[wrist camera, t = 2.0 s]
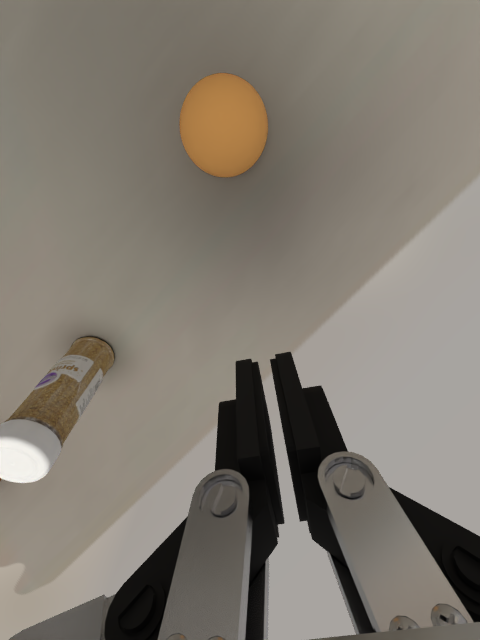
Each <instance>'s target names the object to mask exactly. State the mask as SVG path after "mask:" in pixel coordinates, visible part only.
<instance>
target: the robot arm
mask: <svg viewBox="0 0 480 640" xmlns="http://www.w3.org/2000/svg"><path fill="white" fill-rule="evenodd" d="M275 356H276V359H270V362H271V368H272V373H273V379H274V384H275V390H276V395H277V401H278V406H279V411H280V418H281V423H282V428H283V433H284V439H285V444H286V450H287V455H288V460H289V465H290V470H291V476H292V482H293V487H294V492H295V497H296V503H297V508H298V514H299V519H300V521H307V522H308V526H309V531H310V533H311V536H312V539H313V540H314V541H315V542H316V543H318V544H319V545H320V546H321V547H323V548H324V549H325V550H326V551H327V553H328V557H329V560H330V563H331V566H332V568H333V571H334V574H335V576H336V579H337V582H338V585H339V588H340V591H341V593H342V596H343V599H344V602H345V605H346V607H347V610H348V613H349V616H350V618H351V621H352V624H353V627H354V630H355V632H356V635H348V636H339V637H330V638H321V639H311V640H480V536H478V535H476V534H474V533H472V532H471V531H469V530H467V529H465V528H463V527H461V526H460V525H458V524H456V523H454V522H452V521H450V520H449V519H447V518H445V517H443V516H441V515H439V514H438V513H436V512H434V511H432V510H430V509H428V508H427V507H425V506H423V505H421V504H419V503H417V502H415V501H413V500H412V499H410V498H408V497H406V496H404V495H403V494H401V493H399V492H397V491H395V490H393V489H392V488H390V487H388V485H387V484H386V482H385V481H384V479H383V477H382V476H381V474H380V473H379V471H378V470H377V468H376V467H375V466H374V465H373V464H372V463H371V461H369V460H368V459H366V458H365V457H363V456H361V455H359V454H356V453H353V452H348V451H347V448H346V446H345V443H344V441H343V438H342V436H341V433H340V431H339V428H338V426H337V423H336V421H335V418H334V416H333V413H332V411H331V408H330V406H329V403H328V401H327V398H326V396H325V393H324V391H323V389H322V387H321V386H315V387H309V388H303V389H302V387H301V383H300V380H299V377H298V374H297V370H296V367H295V364H294V361H293V357H292V354H291V352H286V353H281V354H275ZM278 524H284V517H283V509H282V502H281V495H280V488H279V482H278V475H277V467H276V460H275V453H274V446H273V439H272V432H271V426H270V420H269V415H268V410H267V405H266V400H265V395H264V391H263V385H262V380H261V375H260V370H259V365H258V362H253V363H252V360H251V359H246V360H240V361H236V400H230V401H223V402H220V403H219V412H218V429H217V448H216V463H215V471H214V472H212V473H210V474H208V475H207V476H206V477H205V478H203V479H202V480H201V481H200V483H199V484H198V486H197V487H196V489H195V492H194V494H193V497H192V501H191V505H190V509H189V514H188V517H187V518H186V519H185V520H184V521H183V522H182V523H181V524H180V525H179V526H178V527H177V528H176V529H175V530H174V531H173V533H171V535H170V536H169V537H168V538H167V539H166V540H165V541H164V542H163V543H162V544H161V545H160V546H159V547H158V548H157V549H156V550H155V551H154V553H153V554H152V555H151V556H150V557H149V558H148V559H147V560H146V561H145V562H144V563H143V564H142V565H141V566H140V567H139V568H138V569H137V570H136V571H135V572H134V574H133V575H132V576H131V577H130V578H129V579H128V580H127V581H126V582H125V583H124V584H123V586H122V587H121V588H120V589H119V591H118V592H117V593H116V594H115V595H113V596H111V597H108V598H107V597H106V596H105V595H102V596H100V597H98V598H96V599H93V600H91V601H88V602H86V603H84V604H82V605H79V606H77V607H75V608H72V609H70V610H68V611H66V612H63V613H61V614H59V615H56V616H54V617H52V618H50V619H47V620H45V621H43V622H41V623H38V624H36V625H34V626H31V627H29V628H27V629H24V630H22V631H21V632H19V633H18V634H16V635H14V636H13V637H11V638H10V639H9V640H268V595H269V592H268V591H269V559H268V557H269V555H270V554H271V553H272V551H273V550H274V548H275V547H276V546H277V544H278V541H277V537H279V533H278Z"/></svg>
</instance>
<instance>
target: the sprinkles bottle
mask: <svg viewBox="0 0 480 640" xmlns="http://www.w3.org/2000/svg"><path fill="white" fill-rule="evenodd" d="M113 362H114V353H113V351H112V349H111V347H110V346H109V345H108V344H107V343H106V342H104V341H102V340H100V339H98V338H94V337H84V338H80V339H78V340H76V341H75V342H74V343H73V344H72V346H71V348H70V349H69V351H68V352H67V353H66V354H65V355H64V356H63V357H62V358H61V359H60V360H59V361H58V362H57V363H56V364H55V365H54V366H53V368H52V369H51V370H50V371H49V372H48V373H47V374H46V376H45V377H44V378H43V379H42V380H41V381H40V382H39V383H38V385H37V386H36V387H35V388H34V390H33V392H31V394H30V395H29V396H28V397H27V399H26V400H24V402H23V403H22V404H21V405H20V406H19V408H18V409H17V410H16V411H15V412H14V413H13V415H12V416H11V417H10V418H9V419H8V420H6V421H5V422H4V423H2V424H0V478H1V479H4V480H7V481H11V482H17V483H29V482H34V481H37V480H39V479H41V478H43V477H44V476H45V475H46V474H47V473H48V472H49V470H50V469H51V467H52V466H53V464H54V463H55V461H56V459H57V458H58V456H59V454H60V452H61V448H62V446H63V443H64V441H65V440H66V438H67V436H68V435H69V433H70V432H71V430H72V428H73V427H74V425H75V424H76V423H77V422H78V420H79V418H80V417H81V415H82V413H83V412H84V410H85V408H86V407H87V405H88V404H89V402H90V400H91V399H92V397H93V395H94V394H95V392H96V390H97V389H98V387H99V385H100V384H101V382H102V379H103V377H104V375H105V374H106V372H107V371H108V369H110V367H111V366H112V365H113Z"/></svg>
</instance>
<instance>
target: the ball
mask: <svg viewBox="0 0 480 640" xmlns="http://www.w3.org/2000/svg"><path fill="white" fill-rule="evenodd" d="M180 134H181V139H182V142H183V145H184V148H185V150H186V152H187V154H188V155H189V157H190V158H191V160H192V161H193V162H194V163H195V164H196V165H197V166H198V167H199V168H200V169H202V170H203V171H205V172H206V173H208V174H211V175H213V176H217V177H233V176H237V175H239V174H242V173H244V172H245V171H247V170H248V169H249V168H251V167H252V166H253V165H254V164H255V162H256V161H257V160H258V158H259V157H260V155H261V153H262V151H263V149H264V146H265V143H266V140H267V134H268V119H267V113H266V110H265V106H264V104H263V102H262V99H261V98H260V96H259V94H258V93H257V91H256V90H255V89H254V88H253V87H252V86H251V85H250V84H249V83H248V82H247V81H245V80H244V79H242V78H240V77H238V76H236V75H233V74H228V73H217V74H212V75H209V76H207V77H205V78H203V79H201V80H200V81H199V82H197V83H196V84H195V85H194V86H193V87H192V89H191V90H190V91H189V93H188V95H187V96H186V98H185V100H184V103H183V105H182V109H181V114H180Z"/></svg>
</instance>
